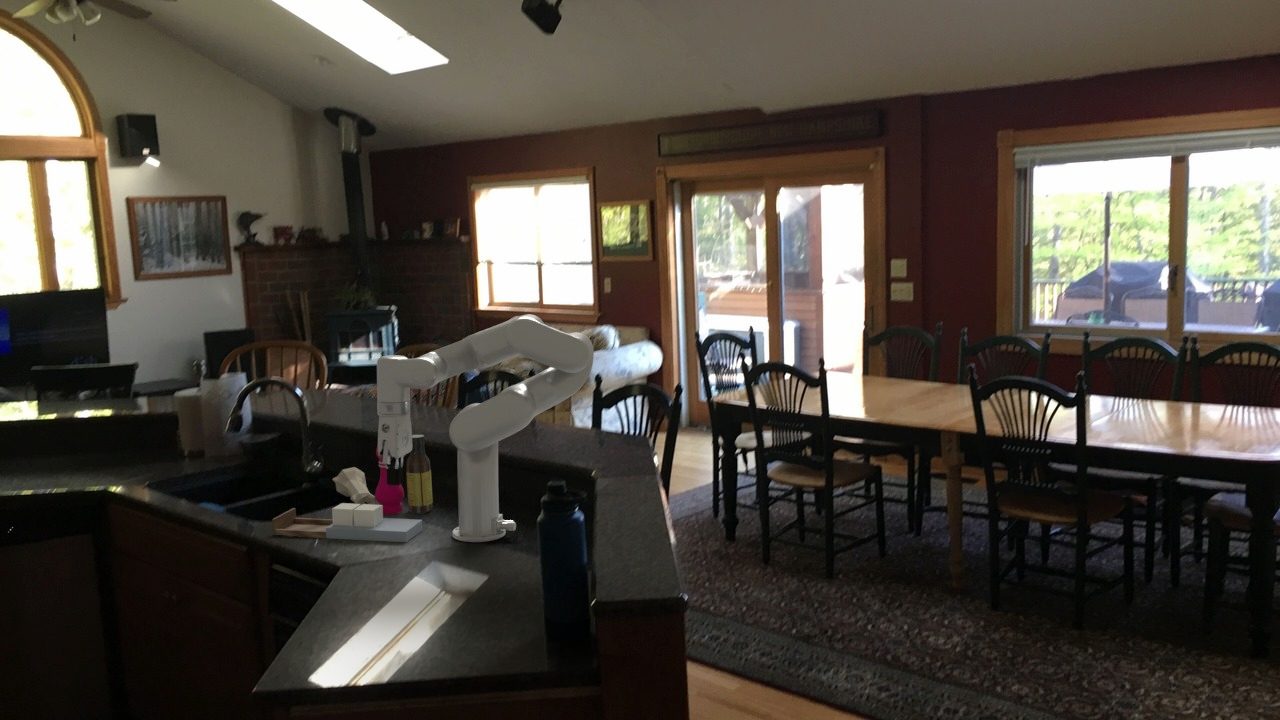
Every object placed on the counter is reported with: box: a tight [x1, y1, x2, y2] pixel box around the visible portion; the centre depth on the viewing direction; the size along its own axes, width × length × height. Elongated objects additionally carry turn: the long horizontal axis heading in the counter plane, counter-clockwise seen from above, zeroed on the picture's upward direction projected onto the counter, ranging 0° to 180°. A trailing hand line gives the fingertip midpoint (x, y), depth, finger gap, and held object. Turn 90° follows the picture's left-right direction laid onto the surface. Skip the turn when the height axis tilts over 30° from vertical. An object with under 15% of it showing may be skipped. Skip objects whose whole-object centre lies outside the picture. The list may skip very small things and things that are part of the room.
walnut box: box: [271, 507, 333, 539], centre depth 238 cm, size 14×10×4 cm
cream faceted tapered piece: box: [331, 466, 377, 505], centre depth 262 cm, size 9×8×25 cm
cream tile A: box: [354, 504, 384, 527], centre depth 235 cm, size 5×5×4 cm
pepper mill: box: [374, 446, 405, 516], centre depth 254 cm, size 7×7×20 cm
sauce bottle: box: [405, 434, 434, 514], centre depth 254 cm, size 6×6×20 cm
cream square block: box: [331, 502, 361, 526], centre depth 236 cm, size 5×5×4 cm
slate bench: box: [325, 517, 424, 543], centre depth 235 cm, size 20×10×2 cm, turn 81°
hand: (394, 484), depth 233 cm, fingers closed
